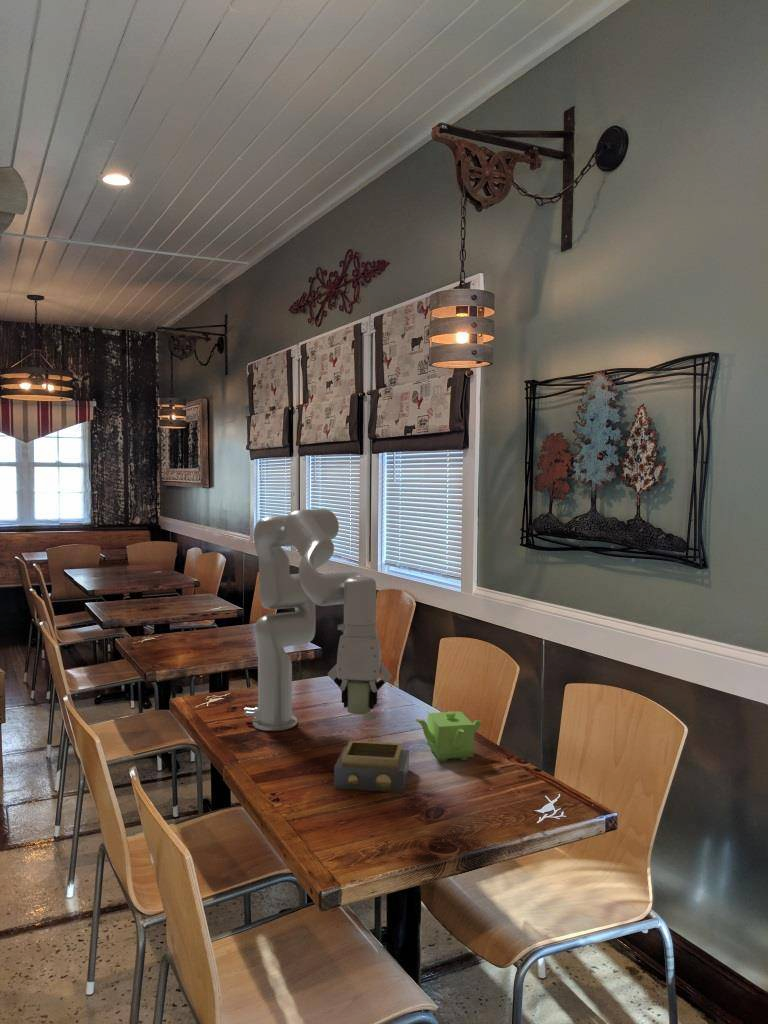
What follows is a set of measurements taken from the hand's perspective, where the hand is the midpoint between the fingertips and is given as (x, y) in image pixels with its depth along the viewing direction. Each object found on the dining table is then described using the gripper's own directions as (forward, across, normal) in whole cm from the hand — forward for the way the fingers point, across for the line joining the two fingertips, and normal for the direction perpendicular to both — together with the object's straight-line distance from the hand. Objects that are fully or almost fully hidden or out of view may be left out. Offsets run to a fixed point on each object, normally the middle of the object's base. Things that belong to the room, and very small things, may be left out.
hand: (359, 705), depth 176 cm
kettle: (+18, +20, +19) cm, 32 cm away
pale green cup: (+1, 0, 0) cm, 1 cm away
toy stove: (+18, +3, +1) cm, 18 cm away
